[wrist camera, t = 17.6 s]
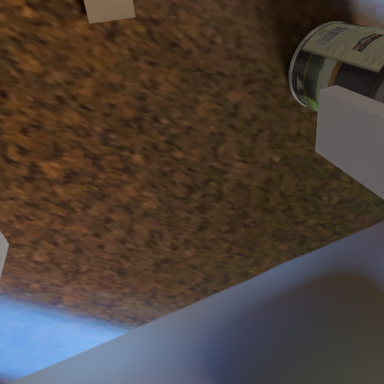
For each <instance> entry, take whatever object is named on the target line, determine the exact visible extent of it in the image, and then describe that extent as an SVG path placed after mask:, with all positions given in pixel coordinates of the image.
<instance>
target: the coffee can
mask: <svg viewBox="0 0 384 384" xmlns="http://www.w3.org/2000/svg"><path fill="white" fill-rule="evenodd" d="M335 85H338V86H340V87H343V88H345V89H348V90H350V91H353V92H355V93H358V94H361V95H363V96H366V97H368V98H371V99H373V100H376V101H379V102H381V103H384V29H382V28H375V27H368V26H361V25H354V24H347V23H344V22H340V21H333V22H328V23H324V24H322V25H320V26H318V27H317V28H315V29H314V30H312V31H311V32H310V33H309V34H308V35H307V36H306V37H305V38H304V39H303V40H302V41H301V43H300V44H299V46H298V47H297V49H296V51H295V53H294V55H293V57H292V60H291V63H290V68H289V86H290V90H291V92H292V94H293V96H294V98H295V99H296V100H297V101H298V102H299V103H300V104H302V105H304V106H306V107H309V108H311V109H313V110H315V111H317V112H318V103H319V90H320V89H324V88H328V87H331V86H335Z"/></svg>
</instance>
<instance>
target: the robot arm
mask: <svg viewBox="0 0 384 384" xmlns="http://www.w3.org/2000/svg"><path fill="white" fill-rule="evenodd" d="M315 151H316V152H317V153H318V154H320V155H321V156H323V157H324V158H326V159H327V160H328V161H330V162H331V163H333V164H334V165H336V166H337V167H338V168H340V169H341V170H343V171H344V172H346V173H347V174H348V175H350V176H351V177H353V178H354V179H356V180H357V181H358V182H360V183H361V184H363V185H364V186H366V187H367V188H368V189H370V190H371V191H373V192H374V193H376V194H377V195H378V196H380V197H381V198H383V199H384V103H381V102H379V101H376V100H373V99H371V98H368V97H366V96H363V95H361V94H358V93H355V92H353V91H350V90H348V89H345V88H343V87H340V86H338V85H335V86H331V87H328V88H324V89H320V90H319V103H318V118H317V133H316V147H315ZM8 246H9V244H8V242H7V241H6V239H5V238H4V236H3V235H2V233H1V232H0V277H1V274H2V270H3V266H4V262H5V258H6V254H7V250H8Z"/></svg>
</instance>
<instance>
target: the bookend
mask: <svg viewBox="0 0 384 384" xmlns="http://www.w3.org/2000/svg"><path fill="white" fill-rule="evenodd" d="M84 4H85V8H86V12H87V16H88V20H89V24H91V23H98V22H105V21H112V20H118V19H125V18H132V17H135V12H134V6H133V0H84Z"/></svg>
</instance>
